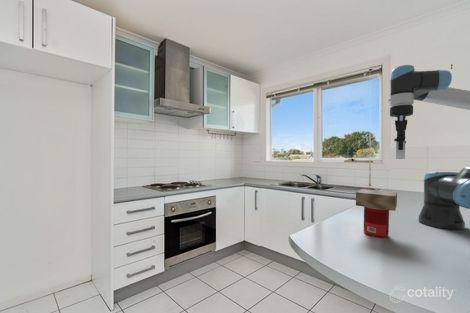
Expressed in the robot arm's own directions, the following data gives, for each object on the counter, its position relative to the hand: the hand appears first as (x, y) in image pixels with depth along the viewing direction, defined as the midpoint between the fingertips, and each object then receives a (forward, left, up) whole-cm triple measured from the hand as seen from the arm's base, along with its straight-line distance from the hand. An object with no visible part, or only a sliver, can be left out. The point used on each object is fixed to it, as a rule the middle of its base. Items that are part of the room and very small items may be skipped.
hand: (400, 158), depth 90 cm
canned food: (+7, +12, -29) cm, 32 cm away
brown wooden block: (+7, +12, -18) cm, 23 cm away
